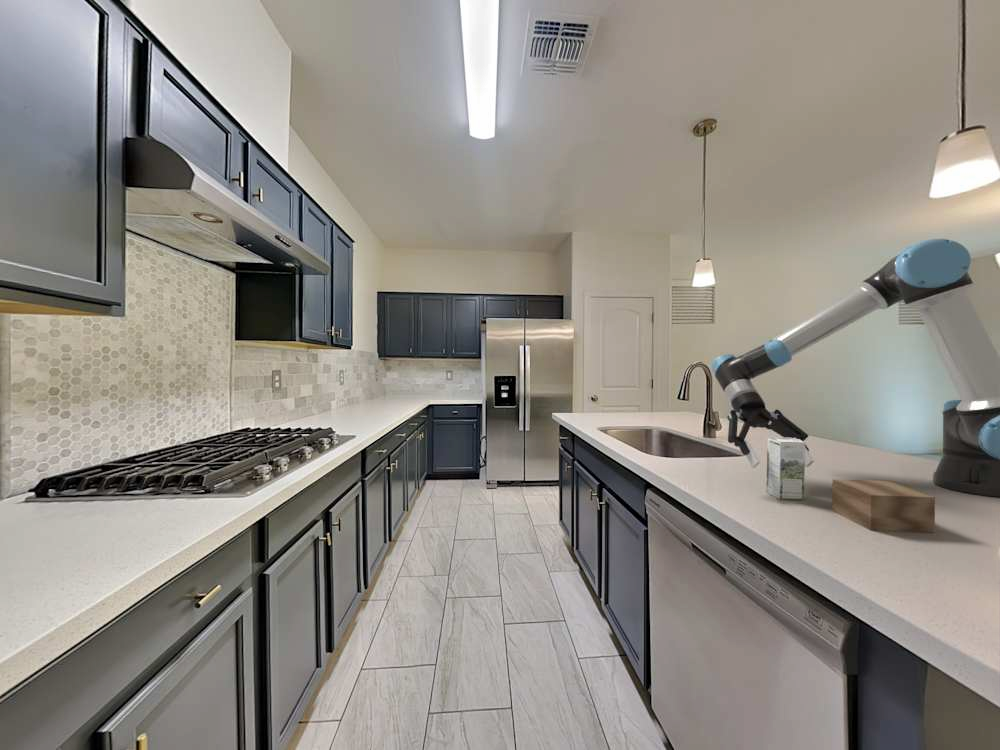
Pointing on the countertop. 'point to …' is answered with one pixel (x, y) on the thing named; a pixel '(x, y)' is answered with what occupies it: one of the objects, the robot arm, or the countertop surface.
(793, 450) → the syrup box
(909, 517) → the walnut block
